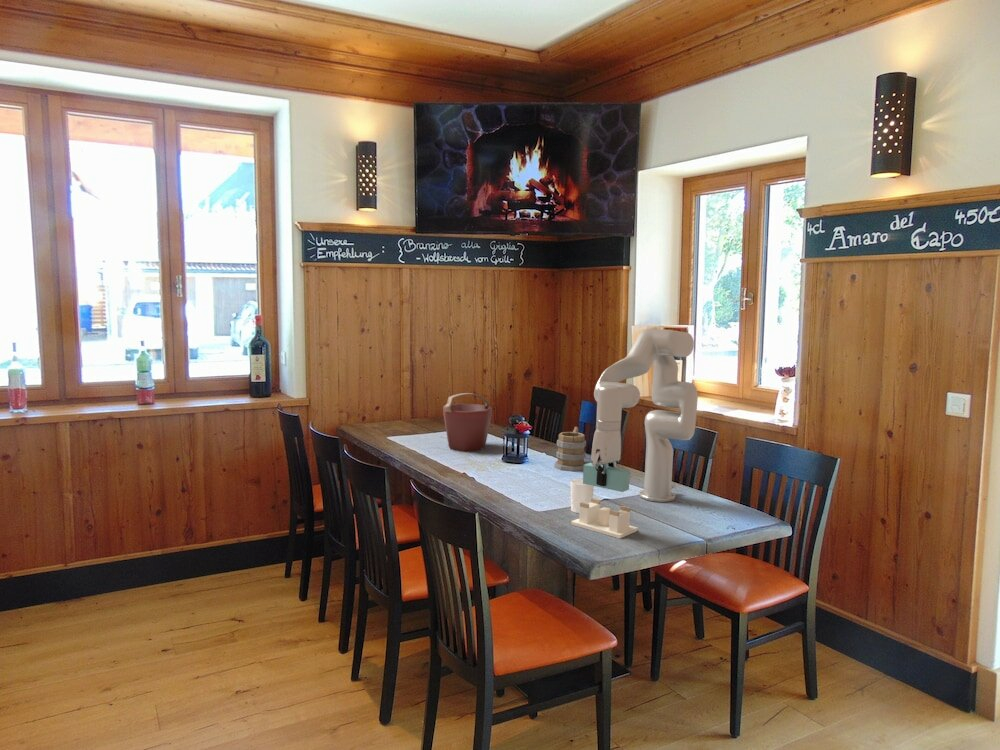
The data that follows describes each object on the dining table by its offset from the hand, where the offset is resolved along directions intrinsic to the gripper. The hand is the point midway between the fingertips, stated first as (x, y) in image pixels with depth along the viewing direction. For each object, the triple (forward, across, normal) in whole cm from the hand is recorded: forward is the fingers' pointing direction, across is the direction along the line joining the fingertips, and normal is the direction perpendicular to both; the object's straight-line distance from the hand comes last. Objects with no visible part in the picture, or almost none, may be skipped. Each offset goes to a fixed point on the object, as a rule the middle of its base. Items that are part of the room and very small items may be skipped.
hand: (605, 483), depth 224 cm
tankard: (+14, -58, -54) cm, 81 cm away
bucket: (+14, -49, -108) cm, 120 cm away
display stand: (+14, 0, 0) cm, 14 cm away
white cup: (+14, -9, -15) cm, 23 cm away
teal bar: (+1, 0, 0) cm, 1 cm away
